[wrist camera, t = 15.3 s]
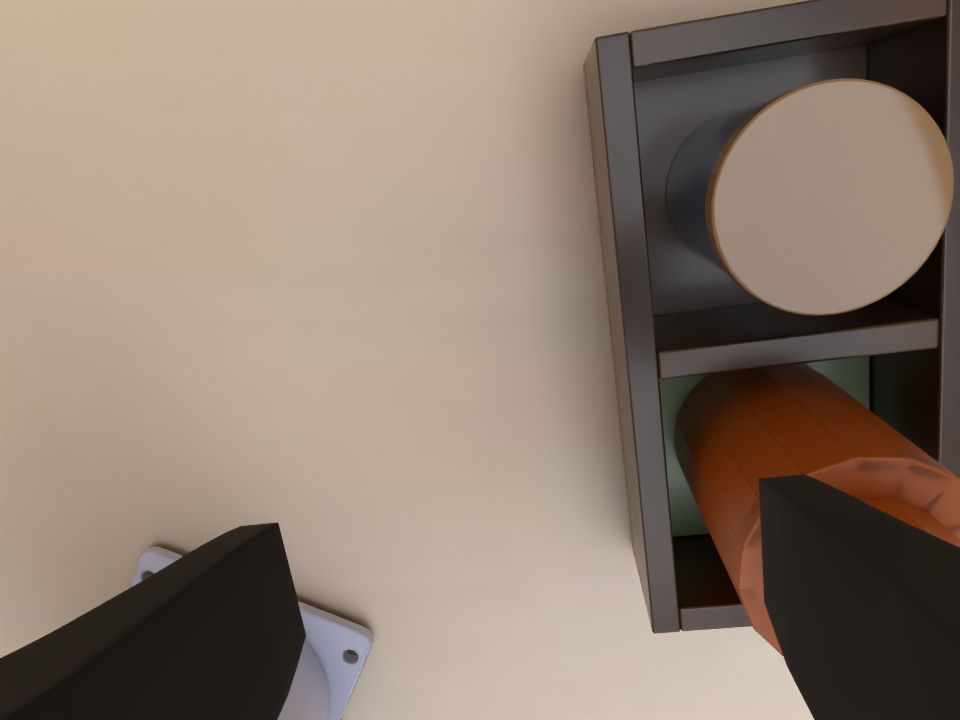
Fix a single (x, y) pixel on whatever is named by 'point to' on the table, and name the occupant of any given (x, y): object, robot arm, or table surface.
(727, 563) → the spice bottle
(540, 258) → the table surface
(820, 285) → the blue jar
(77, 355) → the table surface
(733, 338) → the divided storage box
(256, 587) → the robot arm
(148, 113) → the table surface
